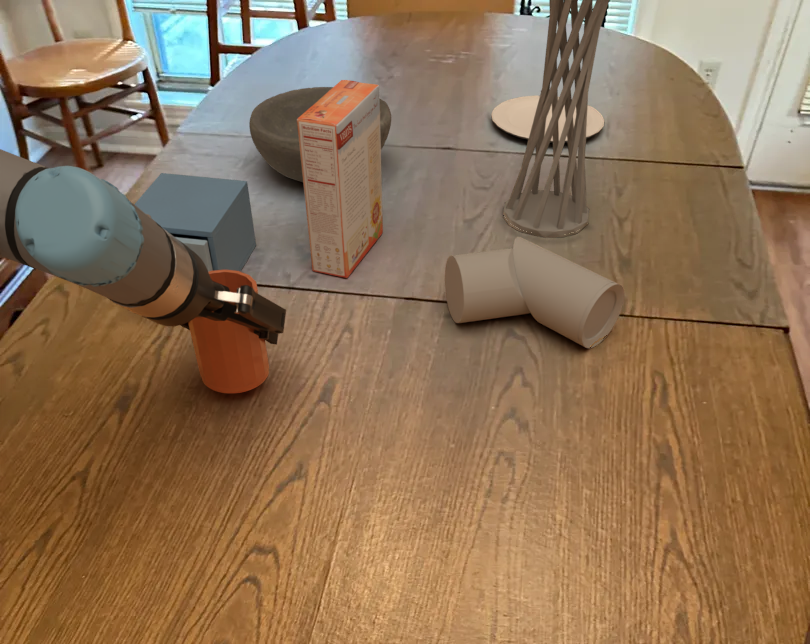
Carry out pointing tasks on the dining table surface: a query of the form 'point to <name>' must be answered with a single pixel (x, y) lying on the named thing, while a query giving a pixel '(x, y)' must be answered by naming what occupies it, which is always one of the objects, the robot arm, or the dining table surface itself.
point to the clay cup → (229, 345)
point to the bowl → (292, 128)
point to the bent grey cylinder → (533, 291)
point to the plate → (521, 113)
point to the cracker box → (342, 176)
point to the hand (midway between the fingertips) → (239, 328)
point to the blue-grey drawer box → (205, 214)
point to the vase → (545, 207)
